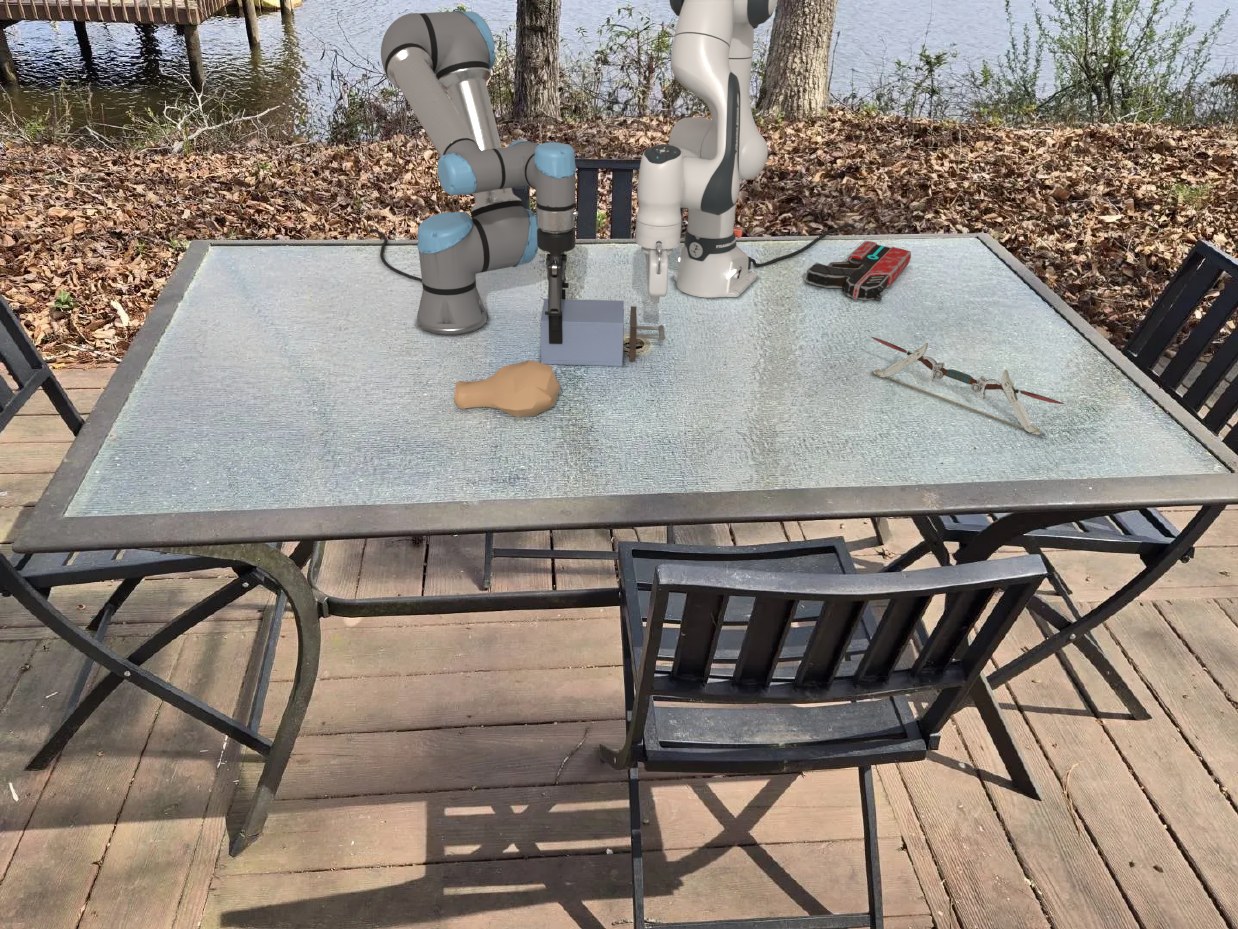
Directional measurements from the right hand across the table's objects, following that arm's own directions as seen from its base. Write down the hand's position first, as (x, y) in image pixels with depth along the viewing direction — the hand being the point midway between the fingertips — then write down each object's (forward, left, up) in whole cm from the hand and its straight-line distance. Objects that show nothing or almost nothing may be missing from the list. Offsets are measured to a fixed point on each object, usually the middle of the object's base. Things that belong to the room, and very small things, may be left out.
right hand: (654, 299), depth 179 cm
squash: (+36, -7, -12) cm, 39 cm away
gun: (-71, +15, -12) cm, 73 cm away
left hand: (+12, -16, -7) cm, 21 cm away
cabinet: (+9, -12, -12) cm, 19 cm away
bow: (-21, +57, -12) cm, 62 cm away
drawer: (+5, -7, -11) cm, 14 cm away
